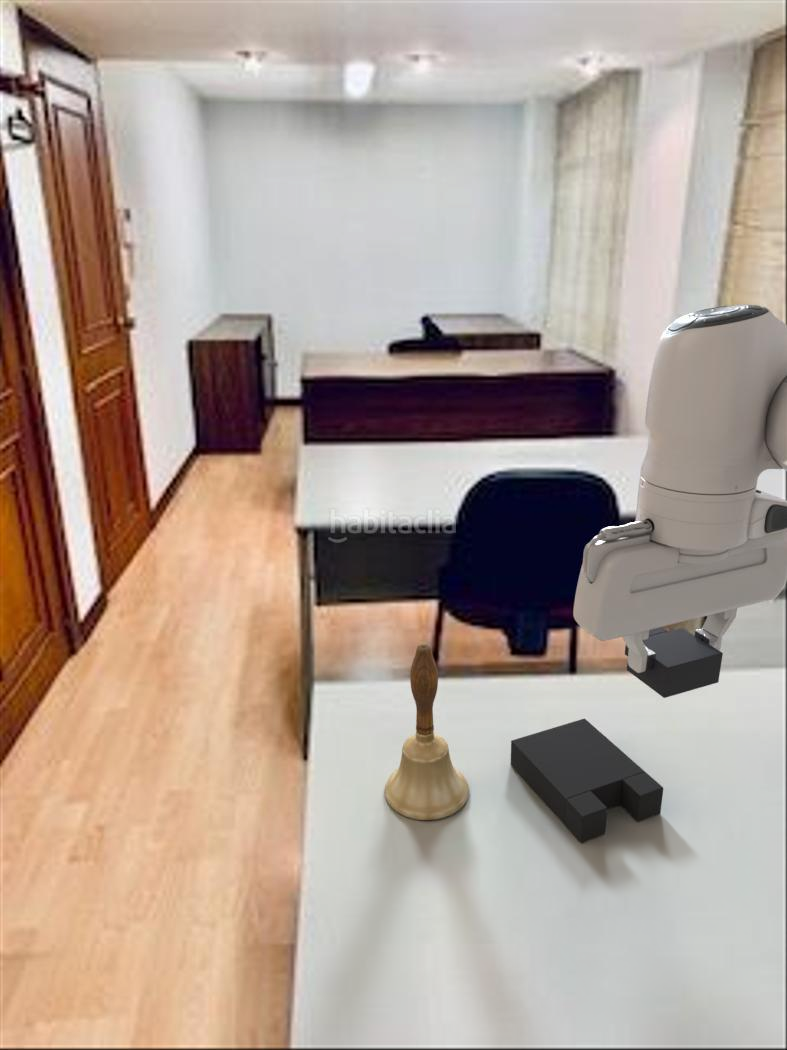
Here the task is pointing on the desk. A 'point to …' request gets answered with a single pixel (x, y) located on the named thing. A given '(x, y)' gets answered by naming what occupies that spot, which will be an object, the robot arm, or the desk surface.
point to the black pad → (584, 777)
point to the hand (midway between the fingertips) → (674, 659)
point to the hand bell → (425, 756)
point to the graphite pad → (679, 662)
